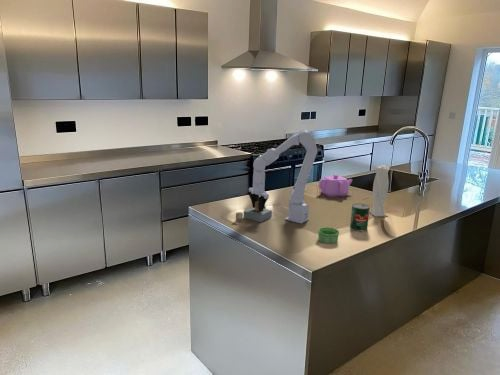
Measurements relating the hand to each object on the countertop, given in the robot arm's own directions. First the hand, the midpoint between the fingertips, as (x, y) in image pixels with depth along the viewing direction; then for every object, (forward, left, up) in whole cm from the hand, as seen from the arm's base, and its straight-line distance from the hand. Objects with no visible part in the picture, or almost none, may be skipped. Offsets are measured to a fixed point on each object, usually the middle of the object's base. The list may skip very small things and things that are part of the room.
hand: (257, 208), depth 185 cm
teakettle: (-11, -68, -5) cm, 69 cm away
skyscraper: (-46, -44, -5) cm, 64 cm away
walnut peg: (0, 0, -4) cm, 5 cm away
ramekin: (-40, +4, -5) cm, 41 cm away
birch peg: (+4, +10, -5) cm, 12 cm away
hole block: (0, 0, -4) cm, 4 cm away
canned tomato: (-45, -19, -5) cm, 49 cm away
